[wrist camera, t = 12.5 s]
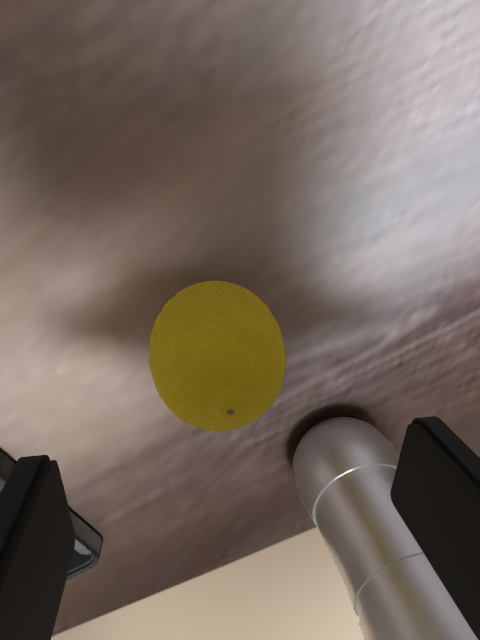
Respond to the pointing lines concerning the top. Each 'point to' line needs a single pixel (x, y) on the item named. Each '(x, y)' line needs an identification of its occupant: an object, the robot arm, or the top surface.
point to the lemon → (217, 356)
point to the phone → (85, 537)
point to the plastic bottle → (372, 534)
